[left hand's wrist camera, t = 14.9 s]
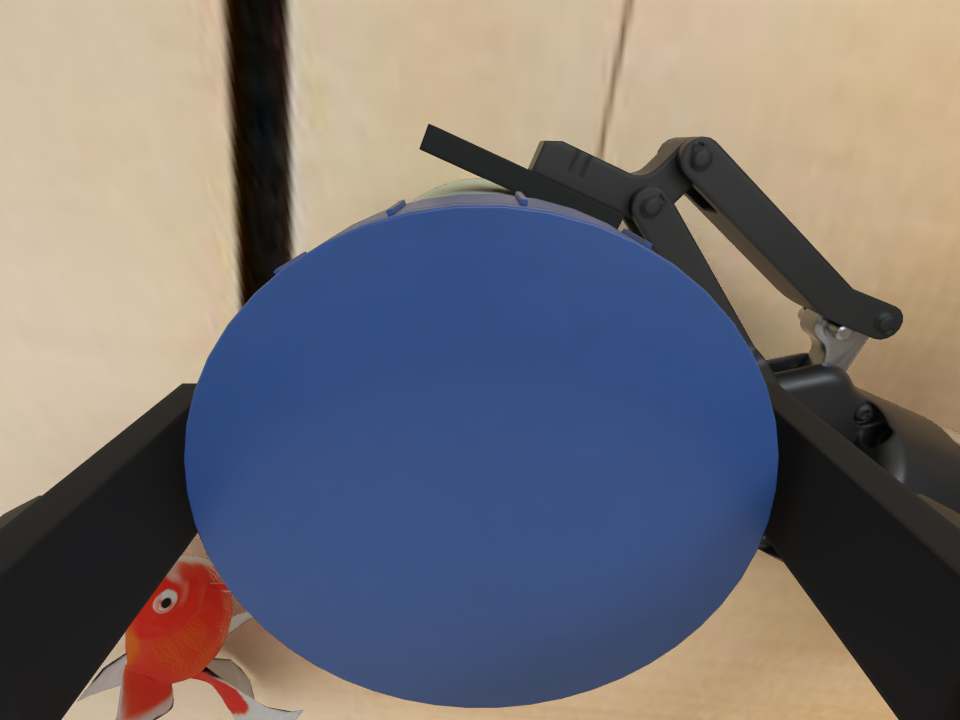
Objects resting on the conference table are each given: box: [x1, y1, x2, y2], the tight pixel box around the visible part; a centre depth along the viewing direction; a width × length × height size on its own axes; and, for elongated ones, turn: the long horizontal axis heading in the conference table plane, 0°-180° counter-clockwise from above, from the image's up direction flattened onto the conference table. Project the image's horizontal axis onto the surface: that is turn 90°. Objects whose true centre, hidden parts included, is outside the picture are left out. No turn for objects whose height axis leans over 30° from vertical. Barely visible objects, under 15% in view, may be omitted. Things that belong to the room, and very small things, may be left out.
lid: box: [184, 191, 779, 708], centre depth 11 cm, size 11×11×2 cm
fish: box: [78, 555, 303, 720], centre depth 29 cm, size 11×16×10 cm
